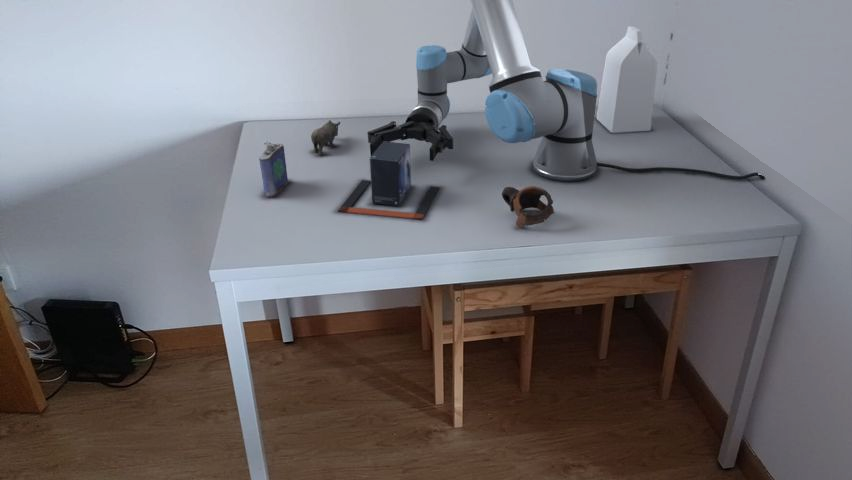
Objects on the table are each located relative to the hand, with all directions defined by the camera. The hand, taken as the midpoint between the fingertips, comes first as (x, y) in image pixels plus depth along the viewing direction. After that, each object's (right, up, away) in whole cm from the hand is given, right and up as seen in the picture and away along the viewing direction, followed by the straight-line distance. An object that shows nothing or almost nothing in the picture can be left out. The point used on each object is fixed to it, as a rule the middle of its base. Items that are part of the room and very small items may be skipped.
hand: (401, 152), depth 154 cm
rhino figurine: (-21, +6, +21) cm, 31 cm away
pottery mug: (+27, -16, -10) cm, 33 cm away
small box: (-2, -10, -2) cm, 10 cm away
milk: (+57, +16, +42) cm, 72 cm away
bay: (-2, -11, -4) cm, 12 cm away
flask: (-27, -8, -1) cm, 29 cm away
